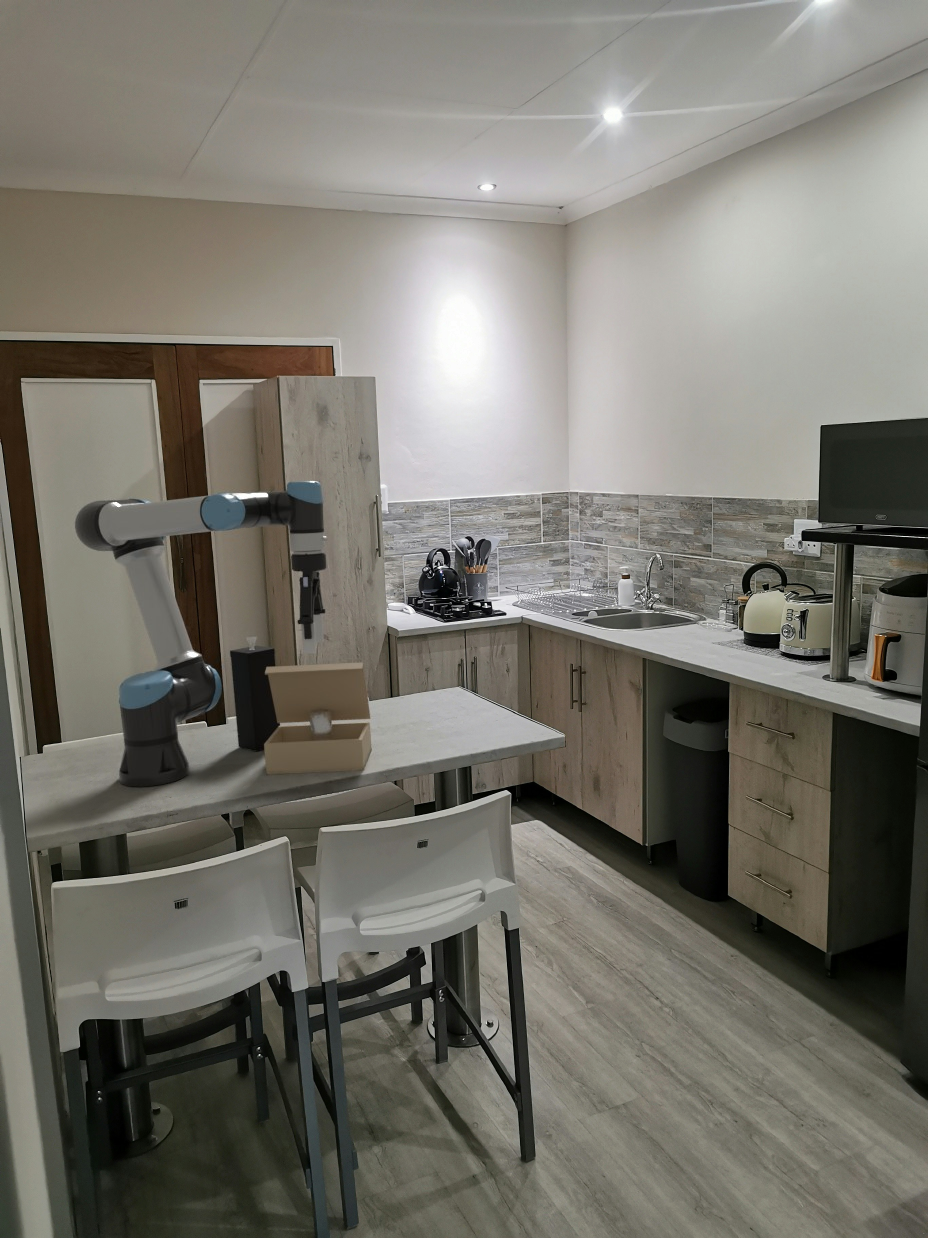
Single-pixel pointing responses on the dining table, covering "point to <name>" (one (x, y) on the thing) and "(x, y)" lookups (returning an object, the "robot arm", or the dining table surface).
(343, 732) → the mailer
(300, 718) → the lid
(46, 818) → the dining table surface
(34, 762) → the dining table surface
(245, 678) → the black pedestal
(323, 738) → the tin
